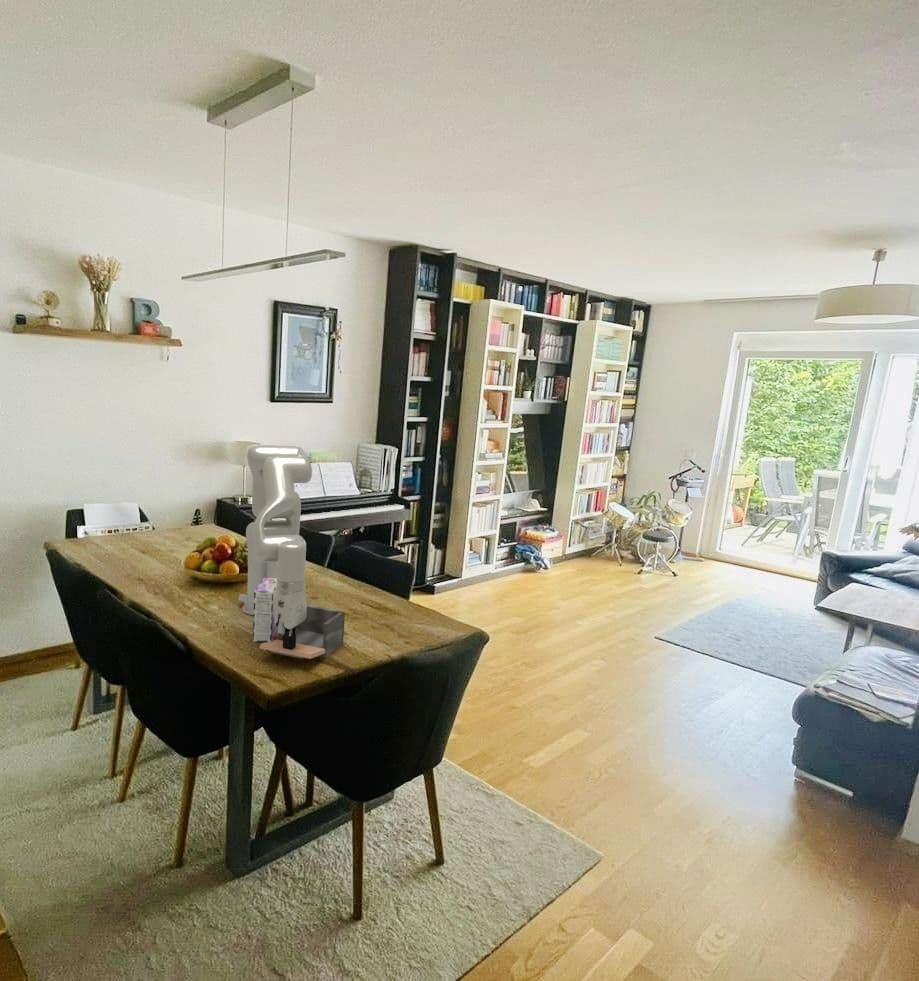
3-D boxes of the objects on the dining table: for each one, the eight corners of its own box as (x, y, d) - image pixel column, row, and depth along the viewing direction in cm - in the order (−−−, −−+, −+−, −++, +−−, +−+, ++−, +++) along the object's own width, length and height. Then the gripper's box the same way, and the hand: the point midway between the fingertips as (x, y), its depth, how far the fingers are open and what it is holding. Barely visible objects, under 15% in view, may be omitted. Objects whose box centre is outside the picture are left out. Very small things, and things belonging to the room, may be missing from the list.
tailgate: (276, 645, 183) (259, 650, 175) (277, 639, 183) (260, 644, 175) (324, 655, 179) (309, 661, 171) (325, 649, 179) (311, 654, 171)
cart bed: (277, 648, 185) (278, 615, 183) (297, 634, 195) (298, 603, 194) (326, 658, 181) (327, 624, 179) (343, 643, 191) (344, 611, 190)
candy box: (262, 624, 201) (263, 576, 198) (280, 625, 202) (282, 577, 199) (252, 642, 188) (253, 590, 185) (271, 642, 188) (273, 591, 185)
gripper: (288, 594, 163) (286, 660, 166) (316, 580, 178) (314, 640, 180) (263, 590, 165) (262, 655, 168) (293, 576, 180) (291, 636, 182)
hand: (289, 647), depth 174 cm, fingers closed
